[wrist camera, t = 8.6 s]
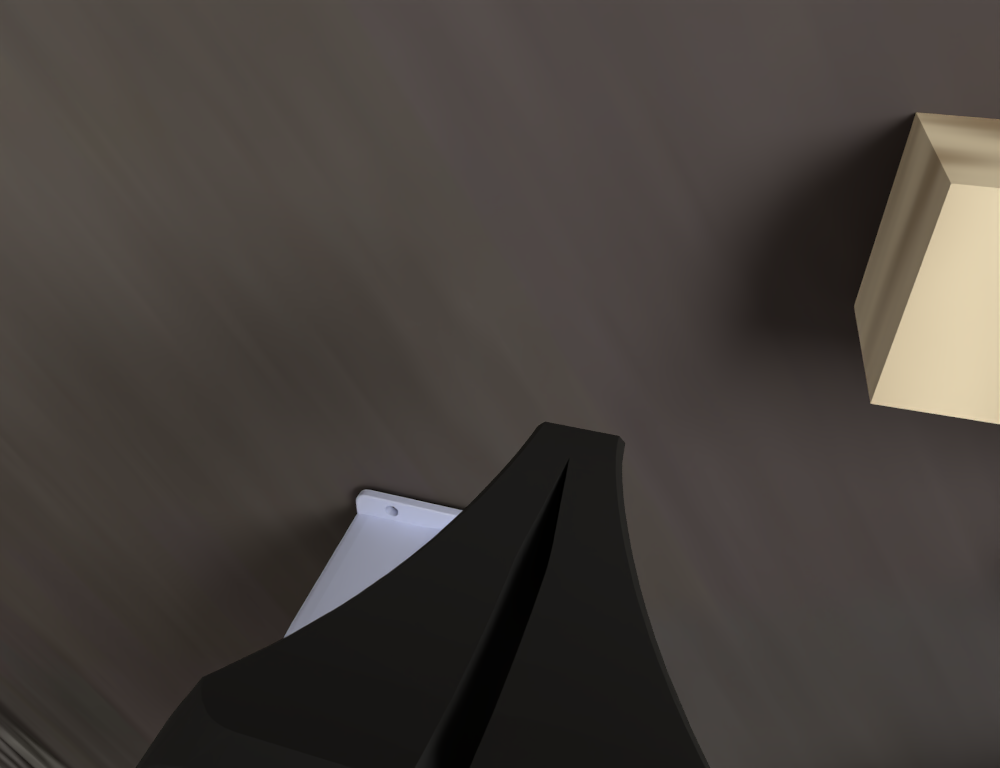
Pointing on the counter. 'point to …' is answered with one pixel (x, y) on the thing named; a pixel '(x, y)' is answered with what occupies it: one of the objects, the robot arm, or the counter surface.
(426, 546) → the robot arm
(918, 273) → the block
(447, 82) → the counter surface
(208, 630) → the counter surface
